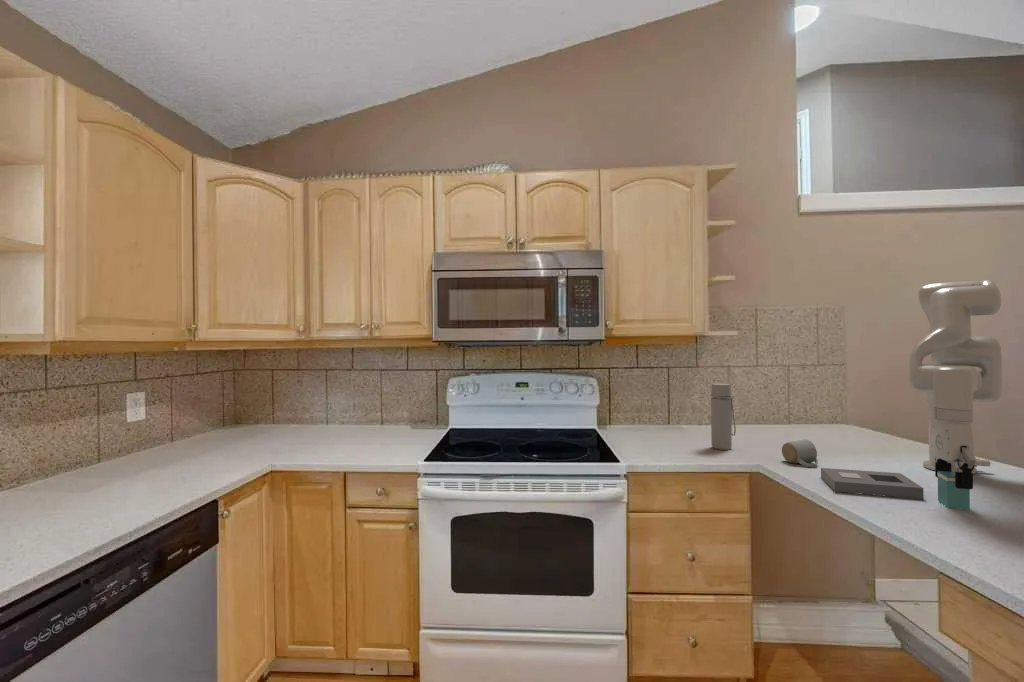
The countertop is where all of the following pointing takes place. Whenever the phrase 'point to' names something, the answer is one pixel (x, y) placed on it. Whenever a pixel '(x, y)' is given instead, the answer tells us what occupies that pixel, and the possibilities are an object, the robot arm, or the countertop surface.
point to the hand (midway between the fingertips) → (953, 482)
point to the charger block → (952, 492)
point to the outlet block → (871, 483)
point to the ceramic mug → (800, 452)
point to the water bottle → (721, 416)
